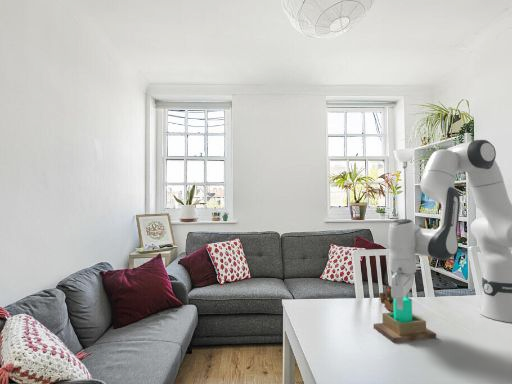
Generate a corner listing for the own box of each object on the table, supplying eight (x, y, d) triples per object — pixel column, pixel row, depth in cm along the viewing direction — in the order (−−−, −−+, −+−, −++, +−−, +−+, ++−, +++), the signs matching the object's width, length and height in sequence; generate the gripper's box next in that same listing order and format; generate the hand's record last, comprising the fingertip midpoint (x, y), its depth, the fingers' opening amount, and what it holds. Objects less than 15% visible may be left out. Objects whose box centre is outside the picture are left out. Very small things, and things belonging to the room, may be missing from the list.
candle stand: (412, 324, 120) (412, 309, 120) (436, 338, 108) (435, 321, 108) (373, 328, 117) (373, 312, 117) (393, 342, 105) (392, 325, 105)
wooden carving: (375, 304, 142) (375, 282, 142) (385, 303, 143) (384, 281, 143) (399, 318, 126) (398, 292, 126) (409, 317, 127) (408, 291, 127)
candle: (414, 332, 109) (413, 297, 109) (395, 331, 110) (394, 296, 111) (410, 325, 115) (409, 292, 115) (392, 324, 116) (391, 291, 116)
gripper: (406, 272, 103) (407, 316, 102) (416, 261, 119) (417, 299, 119) (385, 270, 106) (386, 312, 106) (398, 260, 123) (399, 296, 123)
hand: (403, 305), depth 113 cm, fingers open, 8 cm apart
